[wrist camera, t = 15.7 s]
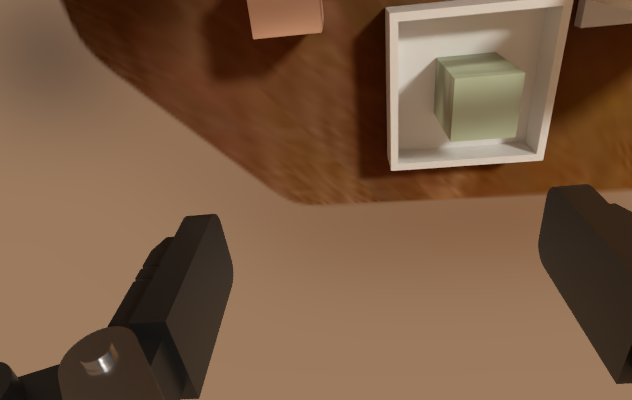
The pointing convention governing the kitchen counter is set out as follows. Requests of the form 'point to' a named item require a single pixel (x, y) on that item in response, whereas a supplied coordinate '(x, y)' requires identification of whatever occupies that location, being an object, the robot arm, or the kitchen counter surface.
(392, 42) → the tray
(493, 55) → the sage block
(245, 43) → the kitchen counter surface
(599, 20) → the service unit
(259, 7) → the terracotta block
